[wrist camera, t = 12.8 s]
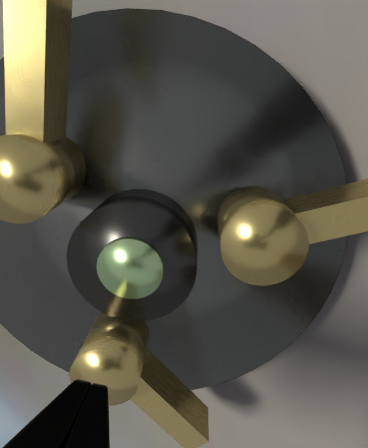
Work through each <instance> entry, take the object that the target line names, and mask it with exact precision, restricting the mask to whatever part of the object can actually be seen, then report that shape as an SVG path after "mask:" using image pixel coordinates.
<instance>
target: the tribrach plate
mask: <svg viewBox="0 0 368 448" xmlns="http://www.w3.org/2000/svg"><path fill="white" fill-rule="evenodd" d="M2 135H6V118H5V67H4V57H3V58H2V59H1V60H0V136H2ZM66 136H67V137H68V138H69V139H71V140H72V141H73V142H74V143H75V144H76V145H77V146H78V148H79V149H80V151H81V153H82V155H83V157H84V160H85V163H86V178H85V182H84V184H83V186H82V188H81V189H80V191H79V192H78V193H77V194H75V195H74V196H73V197H71V198H70V199H68V200H67V201H65V202H64V203H62V204H60V205H59V206H57V207H56V208H54V209H53V210H51V211H50V212H48V213H47V214H45V215H44V216H42V217H41V218H39V219H38V220H35V221H33V222H30V223H24V224H16V223H10V222H6V221H3V220H1V219H0V323H1V324H2V325H3V326H4V327H5V328H6V329H7V330H8V331H9V332H10V333H11V334H12V335H13V336H14V337H15V338H16V339H18V340H19V341H20V342H21V343H23V344H24V345H25V346H26V347H28V348H29V349H30V350H31V351H33V352H34V353H36V354H38V355H39V356H41V357H42V358H44V359H45V360H47V361H48V362H50V363H52V364H54V365H56V366H58V367H60V368H62V369H64V370H65V371H67V372H69V373H70V368H71V366H72V364H73V362H74V360H75V358H76V356H77V354H78V352H79V350H80V348H81V346H82V345H83V343H84V341H85V339H86V337H87V335H88V333H89V331H90V329H91V327H92V325H93V323H94V321H95V319H96V318H97V317H98V316H99V315H100V314H101V313H102V312H103V313H104V314H107V315H109V316H111V317H114V318H118V319H122V320H127V321H145V322H146V324H147V325H148V328H149V332H150V337H149V342H148V346H147V348H148V349H149V350H150V351H151V352H152V353H153V354H154V355H155V356H156V357H157V358H158V359H159V360H160V361H161V362H162V363H163V364H164V365H165V366H166V367H167V368H168V369H169V370H170V371H171V372H172V373H173V374H174V375H175V376H176V377H177V378H178V379H179V380H180V381H181V382H182V383H184V384H185V385H186V386H187V387H188V388H189V389H190V390H194V389H199V388H203V387H208V386H213V385H216V384H219V383H222V382H225V381H228V380H231V379H234V378H237V377H239V376H241V375H243V374H245V373H248V372H250V371H252V370H254V369H256V368H257V367H259V366H261V365H262V364H264V363H266V362H267V361H269V360H271V359H272V358H274V357H275V356H276V355H277V354H279V353H280V352H281V351H283V350H284V349H285V348H287V347H288V346H289V345H290V344H291V343H292V342H293V341H294V340H295V339H296V338H297V337H298V336H299V335H300V334H301V333H302V332H303V331H304V330H305V329H306V328H307V327H308V325H309V324H310V323H311V322H312V320H313V319H314V318H315V317H316V315H317V314H318V313H319V311H320V310H321V308H322V306H323V304H324V303H325V301H326V299H327V298H328V296H329V294H330V293H331V290H332V288H333V286H334V283H335V281H336V279H337V276H338V274H339V271H340V268H341V265H342V261H343V257H344V253H345V250H346V245H347V237H348V236H344V237H339V238H335V239H330V240H326V241H321V242H317V243H312V244H309V249H308V254H307V257H306V259H305V261H304V263H303V265H302V266H301V267H300V269H299V270H298V271H297V272H296V273H295V274H294V275H292V276H291V277H289V278H288V279H286V280H284V281H282V282H280V283H277V284H273V285H267V286H258V285H252V284H248V283H245V282H243V281H241V280H239V279H237V278H236V277H235V276H234V275H232V274H231V273H230V272H229V270H228V269H227V267H226V266H225V264H224V262H223V259H222V254H221V247H220V240H219V232H218V225H217V216H218V211H219V209H220V206H221V204H222V203H223V201H224V200H225V199H226V198H227V197H228V196H229V195H230V194H231V193H233V192H234V191H236V190H238V189H240V188H243V187H248V186H259V187H264V188H267V189H269V190H271V191H273V192H274V193H275V194H277V195H278V196H279V197H280V199H281V200H283V199H287V198H291V197H295V196H299V195H303V194H307V193H312V192H316V191H320V190H324V189H328V188H332V187H336V186H341V185H345V184H347V183H346V177H345V171H344V166H343V163H342V160H341V157H340V154H339V151H338V148H337V145H336V142H335V140H334V138H333V136H332V134H331V132H330V130H329V128H328V126H327V124H326V122H325V120H324V118H323V116H322V114H321V112H320V111H319V110H318V108H317V107H316V105H315V104H314V103H313V101H312V100H311V98H310V97H309V96H308V94H307V93H306V91H305V90H304V89H303V87H302V86H301V85H300V84H299V83H298V82H297V81H296V80H295V79H294V78H293V77H292V76H291V75H290V74H289V73H288V72H287V71H286V70H285V69H284V68H283V67H282V66H281V65H280V64H279V63H278V62H276V61H275V60H274V59H273V58H271V57H270V56H269V55H267V54H266V53H265V52H263V51H262V50H261V49H260V48H258V47H257V46H256V45H254V44H252V43H251V42H249V41H247V40H245V39H243V38H242V37H240V36H238V35H236V34H234V33H232V32H231V31H229V30H227V29H225V28H223V27H220V26H217V25H214V24H212V23H209V22H206V21H204V20H201V19H198V18H196V17H192V16H187V15H182V14H177V13H173V12H168V11H163V10H149V9H129V8H127V9H118V10H109V11H99V12H93V13H89V14H86V15H82V16H78V17H75V18H71V37H70V58H69V79H68V100H67V121H66Z"/></svg>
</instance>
